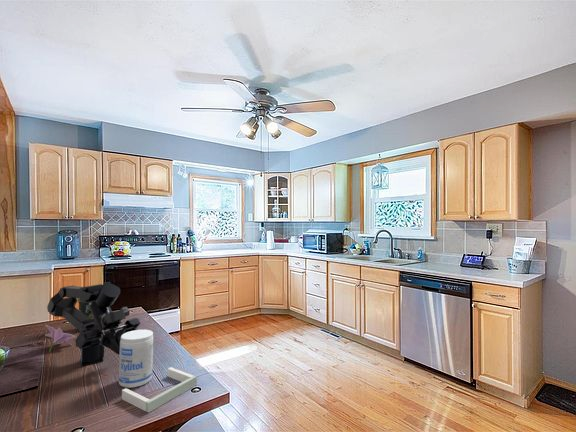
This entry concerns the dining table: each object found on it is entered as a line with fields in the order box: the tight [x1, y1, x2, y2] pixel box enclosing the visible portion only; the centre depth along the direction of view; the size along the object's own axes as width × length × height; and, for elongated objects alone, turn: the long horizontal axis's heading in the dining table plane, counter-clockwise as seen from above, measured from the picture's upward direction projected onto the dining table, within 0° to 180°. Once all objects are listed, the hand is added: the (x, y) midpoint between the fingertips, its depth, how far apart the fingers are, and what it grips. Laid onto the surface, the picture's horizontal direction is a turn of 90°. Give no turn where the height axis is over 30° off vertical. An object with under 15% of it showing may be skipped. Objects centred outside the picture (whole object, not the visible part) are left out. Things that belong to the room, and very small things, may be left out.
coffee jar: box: [76, 298, 94, 332], centre depth 146 cm, size 10×8×19 cm
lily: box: [45, 324, 77, 353], centre depth 122 cm, size 12×12×10 cm
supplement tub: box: [118, 329, 154, 389], centre depth 97 cm, size 10×10×15 cm
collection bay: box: [121, 366, 198, 413], centre depth 91 cm, size 12×16×2 cm
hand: (120, 353), depth 102 cm, fingers closed
